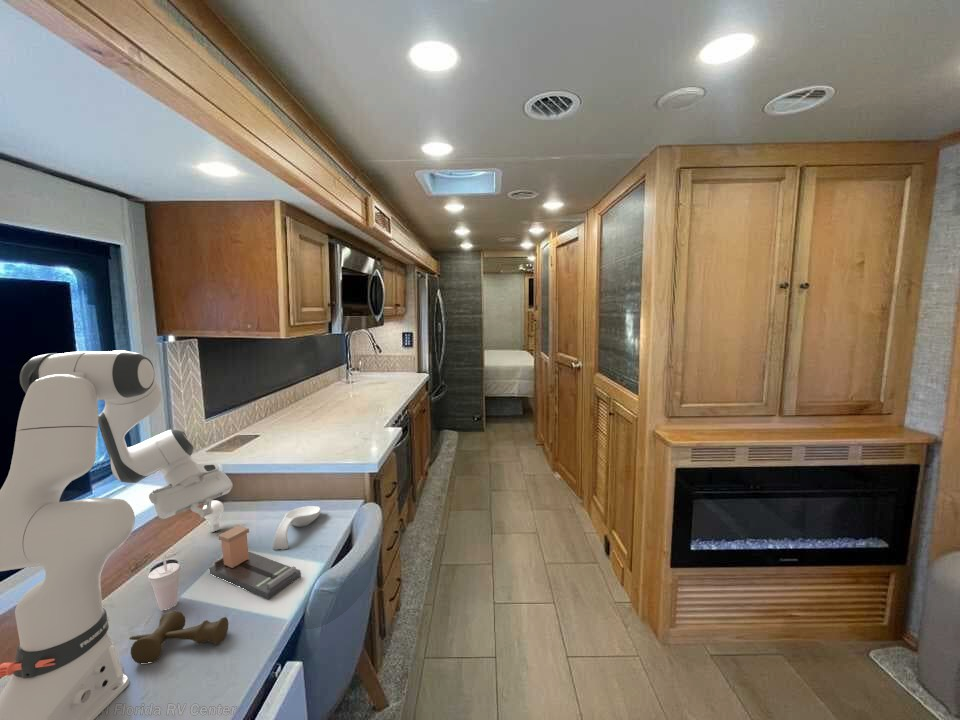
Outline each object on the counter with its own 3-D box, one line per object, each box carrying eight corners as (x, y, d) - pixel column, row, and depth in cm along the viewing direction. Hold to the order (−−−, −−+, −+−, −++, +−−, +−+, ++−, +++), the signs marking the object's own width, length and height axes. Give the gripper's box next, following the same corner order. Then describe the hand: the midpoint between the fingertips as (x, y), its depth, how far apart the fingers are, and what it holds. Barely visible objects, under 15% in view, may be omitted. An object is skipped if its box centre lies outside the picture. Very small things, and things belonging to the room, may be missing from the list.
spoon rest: (294, 515, 148) (293, 496, 147) (326, 513, 148) (324, 495, 148) (262, 551, 124) (260, 530, 124) (300, 549, 125) (298, 528, 124)
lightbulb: (208, 538, 133) (204, 507, 132) (201, 532, 137) (198, 502, 136) (229, 529, 138) (225, 500, 137) (221, 524, 142) (218, 495, 141)
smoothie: (166, 616, 98) (159, 563, 96) (145, 613, 99) (138, 561, 97) (190, 598, 104) (184, 548, 102) (170, 595, 105) (164, 546, 104)
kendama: (213, 660, 85) (112, 669, 83) (236, 627, 94) (146, 634, 92) (211, 634, 84) (110, 642, 82) (234, 603, 94) (144, 610, 92)
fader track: (209, 574, 114) (208, 563, 113) (243, 555, 122) (242, 544, 122) (268, 600, 102) (266, 587, 102) (300, 577, 111) (299, 565, 110)
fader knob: (221, 565, 114) (218, 535, 113) (241, 553, 119) (238, 525, 118) (231, 569, 112) (228, 538, 111) (251, 557, 117) (248, 528, 116)
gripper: (149, 486, 113) (171, 525, 109) (222, 462, 131) (243, 495, 127) (143, 498, 115) (165, 537, 112) (215, 473, 133) (236, 505, 130)
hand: (207, 514), depth 120 cm, fingers closed
